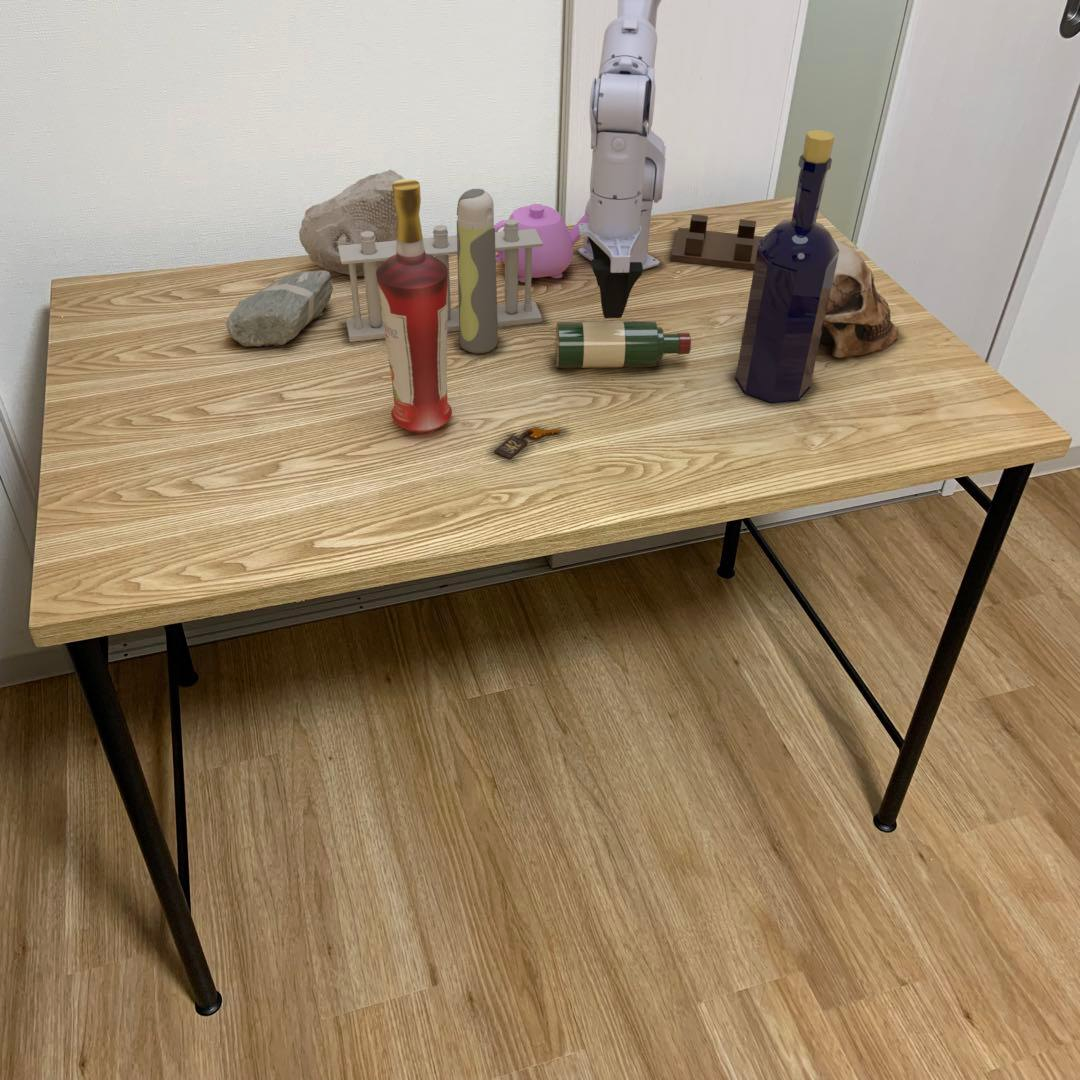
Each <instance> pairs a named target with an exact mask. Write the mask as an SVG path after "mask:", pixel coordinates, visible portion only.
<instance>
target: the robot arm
mask: <svg viewBox="0 0 1080 1080" xmlns="http://www.w3.org/2000/svg"><path fill="white" fill-rule="evenodd" d="M661 2H662V0H617V15H616V18H615V19H613V20H612V21H611V22H610V23H609V24H608V25H607V27H606V29H605V30H604V33H603V41H602V42H603V43H602V48H601V56H600V63H599V69H598V70H599V71H598V76H597V78H596V77H593V80H592V83H591V89H590V97H589V116H588V117H589V126H590V149H591V150H592V156H591V157H592V158H591V167H590V182H589V194H590V195H589V199H588V201H587V203H586V204H585V205H586V206H585V209H584V215H585V214H586V215H588V216H589V222H588V223H580V224H579V225H578V232H579V235H580V236H582V237H583V243H582V244H583V245H582V247H580V248H578V249H577V251H578V253H579V254H580V255H581V256H582V257H584V258H586V260H588V261H590V264H591V268H592V269H591V270H592V272H593V274H594V277H595V280H596V284H597V286H598V287H599V295H600V304H601V311H602V315H603V318H604V319H621V318H622V317H623V315H624V313H625V309H626V307H627V303H628V300H629V297H630V295H631V292H632V290H633V288H634V285H635V284H636V282H637V281H638V280H639V278H640V277H641V276H642V273H643V271H644V270H648V269H650V268H654V267H657V266H659V265H661V264H660V260H658V259H657V258H656V257H654V256H652V255H651V254H650V253H648V251H649V240H650V230H651V219H652V210H653V206H654V205H653V204H654V203H655V204H658V203H659V202H660V201H661V200H662V199H663V191H664V181H665V171H666V160H667V158H666V149H667V147H666V145H665V141H664V140H663V139H662V138H661V137H659V135H657V134H656V133H655V132H654V131H652V130H651V129H652V127H653V120H654V110H655V101H656V100H655V99H656V80H655V69H656V68H655V64H656V63H655V62H656V56H657V45H658V34H657V31H656V30H657V19H658V18H657V17H658V9H659V7H660V4H661Z"/></svg>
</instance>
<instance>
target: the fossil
mask: <svg viewBox="0 0 1080 1080" xmlns="http://www.w3.org/2000/svg"><path fill="white" fill-rule="evenodd" d="M402 179H405V178H404V176H402V175H400V174H399V173H397V172H396V171H394V170H392V169H388V170H386V171H383V172H379V173H375V174H370V175H368V176H366V177H363V178H360V179H359V180H357V181H356V182H355V183H352V184H351V185H349V186H348V187H346V188H345V189H343V190H342V191H341V192H340V193H339V194H337V195H335V196H333V197H331V198H330V199H327V200H325V201H322V202H321V203H317V204H314V205H311V206H310V207H309V208H307V209H306V210H305V212H304V217H303V219H302V220H301V224H300V225H301V227H300V228H299V231H298V234H299V235H298V236H299V241H300V244H301V246H302V247H303V248H304V251H305V252H306V253H307V254H308V258H309V259H310V261H311V262H312V263H314V264H316V265H317V266H320V267H322V268H324V269H326V270H327V271H334V272H337V273H339V274H343V275H347V276H350V272H349V264H341V259H340V254H339V249H338V246H340V245H351V244H361V240H360V237H361V235H360V234H361V233H362V232H365V231H371V232H373V233H374V236H375V238H376V239H375V242H386V241H396V240H397V214H396V210H395V206H394V202H393V189H392V184H393V183H394V182H395V181H398V180H402ZM376 253H377V252H376ZM383 262H384V261H377V266H378V267H379V266H380V265H381V264H382V263H383ZM355 266H356V276H357V277H358V278H359V277H364V267H363V263H356V264H355Z"/></svg>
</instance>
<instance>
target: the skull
mask: <svg viewBox="0 0 1080 1080" xmlns="http://www.w3.org/2000/svg"><path fill="white" fill-rule="evenodd" d="M834 241H835V243H836V245H837V247H838V249H839V250H840V251H839V256H838V260H837V265H836V269H835V274H834V279H833V283H832V288H831V292H830V297H829V301H828V306H827V311H826V315H825V320H824V324H823V329H822V334H821V338H820V343H819V347H820V346H821V347H822V346H823V347H828V348H829V350H830V353H831V356H833V357H834V358H838V359H839V358H840V359H843V358H847V357H854V356H863V355H866V354H870V353H874V352H877V351H878V350H881V351H884V350H885V349H886V348H888V347H889V346H890V345H891V344H892V343H894V342H895V340H897V339H898V338H899V329H898V328H897V326H896V325H895V323H893V322H892V321H891V318H892V317H891V309H890V306H889V303H888V302H887V300H886V298H885V297H884V296H882V295H881V294H880V293H878V291H877V289H876V286H875V276H874V273H873V271H872V269H871V268H869V267H868V265H867V264H866V262H865V260H864V258H863V257H862V255H861V254H860V253H859V252H858V251H856V249H854V248H853V247H852V246H851V245H849V243H846V242H844V241H842V240H839V239H834ZM750 290H751V287H750V288H749V291H750ZM749 296H750V294H749ZM749 296H748V297H749Z"/></svg>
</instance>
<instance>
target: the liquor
mask: <svg viewBox="0 0 1080 1080" xmlns="http://www.w3.org/2000/svg"><path fill="white" fill-rule="evenodd" d="M392 189H393V202H394V206H395V210H396V214H397V240H396V254H395V255H393V256H391V257H389V258H388V259H387V260H385V261H384V262H383V263H382V264H381V265H380V266H379V267H378V268H377V270H376V277H377V284H378V290H379V298H380V306H381V313H382V320H383V326H384V332H385V338H384V339H385V344H386V350H387V357H388V363H389V371H390V378H391V388H392V396H393V397H392V398H393V407H392V409H391V413H390V415H391V419H392V420H393V422H394V423H395V424H396V425H397V426H400V427H401V428H403V429H405V430H406V431H408V432H410V433H412V434H418V435H424V434H430V433H433V432H435V431H437V430H438V429H440V428H441V427H442V426H443V425H445V424H446V423H447V422H448V421H449V420H450V419H451V418H452V415H453V409H452V406H451V405H450V403H448V332H447V322H448V291H447V287H448V269H447V267H446V265H445V264H444V263H443V262H441V261H440V260H438V259H437V258H435V256H432V255H430V254H427V253H425V248H424V242H423V238H424V237H423V230H422V225H421V218H420V210H421V202H422V197H421V183H420V182H419V181H417V180H415V179H412V178H408V179H407V178H404V179H402V180H398V181H395V182H394V183H393V184H392Z"/></svg>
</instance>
